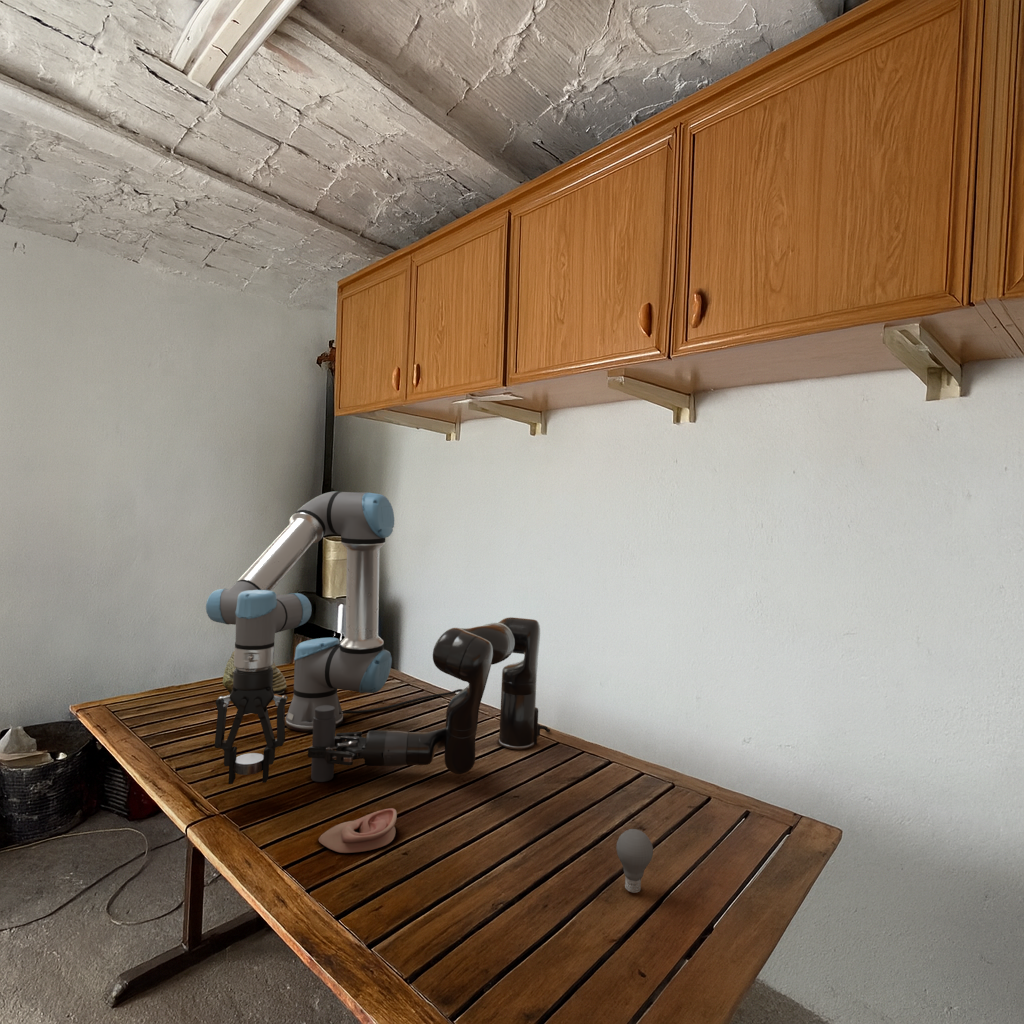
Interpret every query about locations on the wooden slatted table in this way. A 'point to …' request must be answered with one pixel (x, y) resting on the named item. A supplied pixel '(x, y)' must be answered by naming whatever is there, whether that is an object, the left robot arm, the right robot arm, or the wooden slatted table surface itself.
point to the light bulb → (634, 857)
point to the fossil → (278, 678)
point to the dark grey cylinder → (323, 741)
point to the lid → (248, 764)
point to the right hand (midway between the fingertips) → (311, 747)
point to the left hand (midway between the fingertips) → (248, 780)
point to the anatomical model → (362, 833)
